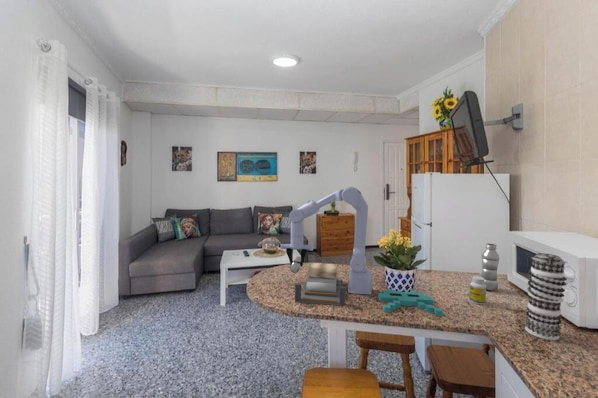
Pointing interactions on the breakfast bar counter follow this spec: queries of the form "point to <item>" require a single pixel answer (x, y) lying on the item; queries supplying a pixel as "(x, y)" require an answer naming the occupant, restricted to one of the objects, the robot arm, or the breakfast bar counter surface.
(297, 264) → the loose roller
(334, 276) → the slab
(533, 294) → the decorative candle
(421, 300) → the alien figure
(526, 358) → the breakfast bar counter surface
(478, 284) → the supplement bottle
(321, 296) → the roller bed
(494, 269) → the plastic bottle
